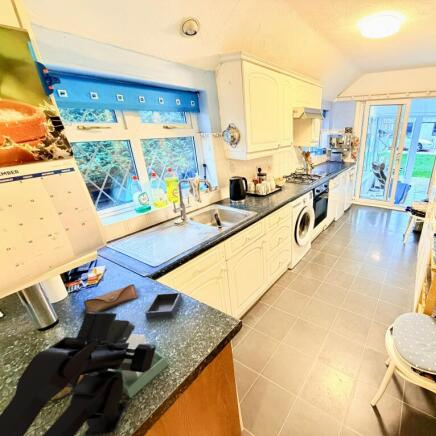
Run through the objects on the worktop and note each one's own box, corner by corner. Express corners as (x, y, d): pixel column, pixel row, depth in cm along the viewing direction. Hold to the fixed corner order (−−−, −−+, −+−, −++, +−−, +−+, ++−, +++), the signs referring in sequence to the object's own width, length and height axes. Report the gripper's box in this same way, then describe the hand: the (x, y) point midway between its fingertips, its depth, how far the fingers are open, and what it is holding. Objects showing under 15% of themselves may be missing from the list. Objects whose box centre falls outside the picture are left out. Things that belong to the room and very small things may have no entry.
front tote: (130, 398, 65) (127, 390, 63) (112, 380, 69) (108, 372, 68) (167, 365, 74) (165, 357, 72) (149, 351, 78) (147, 343, 77)
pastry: (88, 364, 74) (84, 355, 72) (95, 377, 70) (92, 368, 69) (47, 389, 67) (42, 380, 65) (53, 405, 63) (48, 396, 62)
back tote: (173, 318, 92) (171, 311, 91) (146, 320, 91) (145, 312, 89) (182, 298, 102) (180, 292, 101) (158, 300, 101) (157, 293, 100)
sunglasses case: (86, 318, 90) (81, 302, 91) (88, 317, 96) (82, 301, 96) (139, 297, 102) (135, 282, 102) (138, 296, 107) (133, 283, 108)
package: (139, 383, 68) (129, 353, 64) (125, 381, 68) (114, 352, 64) (153, 363, 74) (145, 335, 69) (139, 362, 74) (130, 333, 70)
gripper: (143, 325, 58) (175, 324, 73) (75, 318, 60) (119, 319, 74) (127, 378, 54) (164, 366, 68) (54, 369, 55) (105, 360, 70)
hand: (138, 351), depth 70 cm, fingers open, 9 cm apart
